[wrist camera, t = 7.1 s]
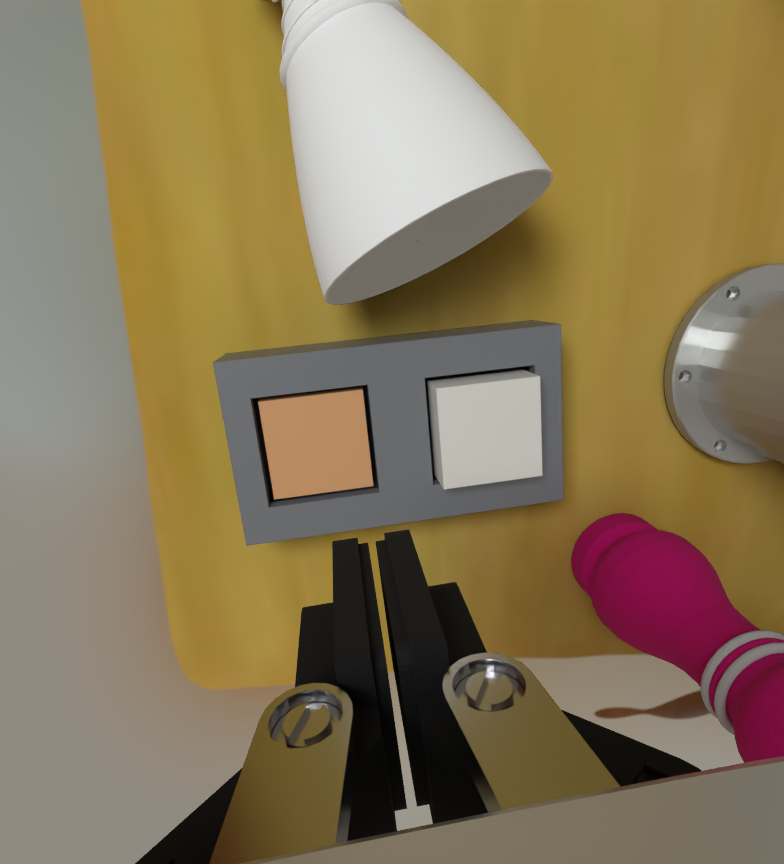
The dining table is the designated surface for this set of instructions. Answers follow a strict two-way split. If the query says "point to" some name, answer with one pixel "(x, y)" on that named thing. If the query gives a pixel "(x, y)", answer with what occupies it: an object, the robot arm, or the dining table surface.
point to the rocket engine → (393, 147)
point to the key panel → (386, 425)
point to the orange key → (316, 441)
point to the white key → (486, 428)
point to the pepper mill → (686, 624)
